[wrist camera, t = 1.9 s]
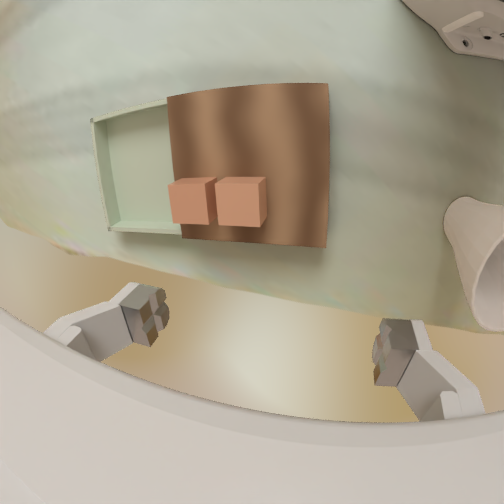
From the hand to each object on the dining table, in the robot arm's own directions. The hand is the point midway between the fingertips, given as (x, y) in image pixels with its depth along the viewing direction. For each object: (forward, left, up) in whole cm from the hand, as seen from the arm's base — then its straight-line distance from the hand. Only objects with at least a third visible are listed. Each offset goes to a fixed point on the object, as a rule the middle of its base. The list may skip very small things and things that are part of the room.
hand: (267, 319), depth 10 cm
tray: (+21, -2, -23) cm, 31 cm away
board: (+6, -2, -23) cm, 23 cm away
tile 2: (+6, +1, -19) cm, 19 cm away
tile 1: (+11, +1, -19) cm, 22 cm away
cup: (-19, +3, -23) cm, 30 cm away
